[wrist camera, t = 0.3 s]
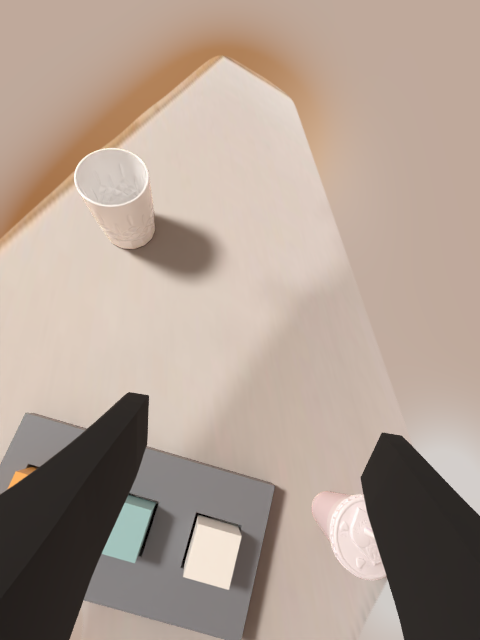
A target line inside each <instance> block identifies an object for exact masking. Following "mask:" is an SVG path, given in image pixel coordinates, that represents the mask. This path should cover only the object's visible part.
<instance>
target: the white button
mask: <svg viewBox="0 0 480 640" xmlns="http://www.w3.org/2000/svg"><path fill="white" fill-rule="evenodd" d="M241 537H242V536H241V533H240V530H239V528H238V526H235V525H232V524H228V523H225V522H221V521H218V520H215V519H211V518H208V517H204V516H201V515H198V517H197V520H196V524H195V528H194V531H193V535H192V538H191V542H190V545H189V549H188V552H187V556H186V559H185V563H184V573H183V577H185V578H188V579H192V580H195V581H199V582H202V583H206V584H210V585H213V586H217V587H220V588H224V589H227V590H229V587H230V583H231V579H232V575H233V571H234V566H235V562H236V558H237V554H238V550H239V545H240V541H241Z"/></svg>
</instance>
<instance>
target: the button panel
mask: <svg viewBox="0 0 480 640" xmlns="http://www.w3.org/2000/svg"><path fill="white" fill-rule="evenodd" d="M85 430H86V428H83V427H79V426H76V425H72V424H69V423H66V422H62V421H59V420H55V419H52V418H49V417H45V416H42V415H38V414H35V413H25V415H24V417H23V419H22V421H21V423H20V425H19V427H18V429H17V431H16V434H15V436H14V438H13V440H12V442H11V444H10V446H9V448H8V450H7V452H6V454H5V456H4V458H3V460H2V462H1V465H0V494H1V493H3V492H4V491H6V490H7V489H8V487H9V485H10V482H11V480H12V478H13V476H14V474H15V472H16V471H19V470H22V469H26V468H30V467H35V466H38V467H40V466H41V465H43V464H44V463H45V462H46V461H48V460H49V459H50V458H52V457H53V456H54V455H56V454H57V453H58V452H59V451H61V450H62V449H63V448H65V447H66V446H67V445H68V444H70V443H71V442H72V441H73V440H74V439H76V438H77V437H78V436H79V435H80V434H82V433H83V432H84V431H85ZM274 488H275V486H274V485H273V484H272V483H270V482H267V481H263V480H260V479H256V478H253V477H250V476H246V475H243V474H239V473H236V472H233V471H229V470H226V469H222V468H219V467H215V466H212V465H209V464H205V463H202V462H198V461H195V460H192V459H188V458H185V457H181V456H178V455H175V454H171V453H168V452H164V451H161V450H158V449H154V448H151V447H147V446H146V449H145V452H144V455H143V458H142V462H141V465H140V468H139V470H138V473H137V476H136V479H135V481H134V483H133V486H132V488H131V490H130V492H129V493H131V494H135V495H138V496H141V497H145V498H148V499H152V500H155V501H159V504H158V507H157V510H156V513H155V516H154V520H153V523H152V526H151V529H150V532H149V535H148V538H147V541H146V544H145V548H144V549H142V548H141V551H140V553H139V555H138V557H137V560H136V562H135V563H132V562H128V561H125V560H121V559H118V558H114V557H111V556H107V555H104V554H101V556H100V558H99V561H98V563H97V566H96V568H95V571H94V573H93V575H92V578H91V581H90V583H89V586H88V589H87V592H86V594H85V597H84V600H85V601H88V602H92V603H96V604H99V605H103V606H106V607H110V608H114V609H117V610H121V611H124V612H128V613H131V614H135V615H139V616H142V617H146V618H149V619H153V620H157V621H160V622H164V623H167V624H171V625H175V626H178V627H182V628H185V629H189V630H193V631H196V632H200V633H203V634H207V635H210V636H214V637H218V638H221V639H225V640H241V639H242V635H243V630H244V626H245V621H246V616H247V612H248V607H249V603H250V598H251V594H252V589H253V584H254V580H255V575H256V571H257V566H258V561H259V557H260V552H261V548H262V543H263V539H264V534H265V529H266V525H267V520H268V516H269V511H270V506H271V502H272V497H273V493H274ZM196 512H197V513H200V514H204V515H207V516H211V517H214V518H218V519H221V520H224V521H228V522H231V523H235V524H238V525H239V526H238V528H239V530H240V533H241V536H242V537H241V541H240V545H239V550H238V554H237V558H236V562H235V566H234V571H233V575H232V579H231V583H230V587H229V590H227V589H224V588H220V587H217V586H213V585H210V584H206V583H202V582H199V581H195V580H192V579H188V578H185V577H183V573H184V563H185V561H184V560H183V557H184V553H185V550H186V546H187V543H188V539H189V536H190V532H191V529H192V525H193V522H194V518H195V515H196Z"/></svg>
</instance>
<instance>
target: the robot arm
mask: <svg viewBox="0 0 480 640" xmlns="http://www.w3.org/2000/svg"><path fill="white" fill-rule="evenodd" d="M148 406H149V395H143V394H137V393H130V392H129V393H127V394H126V395H124V396H123V397H122V398H121V399H120V400H119V401H118V402H117V403H116V404H115V405H114V406H113V407H111V408H110V409H109V410H108V411H107V412H106V413H105V414H104V415H103V416H101V417H100V418H99V419H98V420H97V421H96V422H95V423H93V424H92V425H91V426H90V427H89V428H88V429H86V430H85V431H84V432H83V433H82V434H80V435H79V436H78V437H77V438H76V439H74V440H73V441H72V442H71V443H70V444H68V445H67V446H66V447H65V448H63V449H62V450H61V451H59V452H58V453H57V454H56V455H54V456H53V457H52V458H50V459H49V460H48V461H46V462H45V463H44V464H43V465H41V466H40V467H39V468H37V469H36V470H35V471H33V472H32V473H30V474H29V475H28V476H26V477H25V478H23V479H22V480H21V481H19V482H18V483H16V484H15V485H13V486H12V487H10V488H9V489H7V490H6V491H4V492H3V493H1V494H0V640H69V639H70V636H71V633H72V631H73V628H74V625H75V622H76V619H77V616H78V614H79V611H80V608H81V605H82V603H83V600H84V597H85V594H86V592H87V589H88V586H89V583H90V581H91V578H92V575H93V573H94V571H95V568H96V566H97V563H98V561H99V558H100V556H101V554H102V552H103V550H104V547H105V545H106V543H107V541H108V539H109V536H110V534H111V532H112V530H113V528H114V525H115V523H116V521H117V519H118V517H119V514H120V512H121V510H122V508H123V506H124V503H125V501H126V499H127V497H128V494H129V492H130V490H131V488H132V486H133V483H134V481H135V479H136V476H137V473H138V470H139V468H140V465H141V462H142V458H143V455H144V452H145V449H146V446H147V434H148ZM361 482H362V488H363V494H364V500H365V505H366V510H367V514H368V517H369V521H370V524H371V528H372V531H373V534H374V537H375V541H376V544H377V547H378V550H379V553H380V557H381V560H382V563H383V566H384V569H385V573H386V576H387V579H388V582H389V585H390V589H391V592H392V595H393V598H394V601H395V605H396V608H397V612H398V616H399V619H400V623H401V627H402V632H403V636H404V640H480V516H479V515H478V514H477V513H476V512H475V511H474V510H473V509H472V508H471V507H470V506H469V505H468V504H467V503H466V502H465V501H464V500H463V499H462V498H461V497H460V496H459V495H458V494H457V493H456V491H454V490H453V488H452V487H451V486H450V485H449V484H448V483H447V482H446V481H445V480H444V479H443V478H442V477H441V476H440V475H439V474H438V473H437V472H436V471H435V470H434V469H433V467H432V466H431V465H430V464H429V463H428V462H427V461H426V460H425V459H424V458H423V457H422V456H421V455H420V454H419V453H418V452H417V451H416V450H415V449H414V448H413V446H412V445H411V444H410V443H409V442H408V441H406V440H405V439H404V438H403V437H402V436H400V435H394V434H388V433H382V434H381V436H380V438H379V440H378V442H377V444H376V446H375V448H374V451H373V453H372V455H371V457H370V459H369V461H368V463H367V465H366V467H365V470H364V472H363V474H362V476H361Z"/></svg>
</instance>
